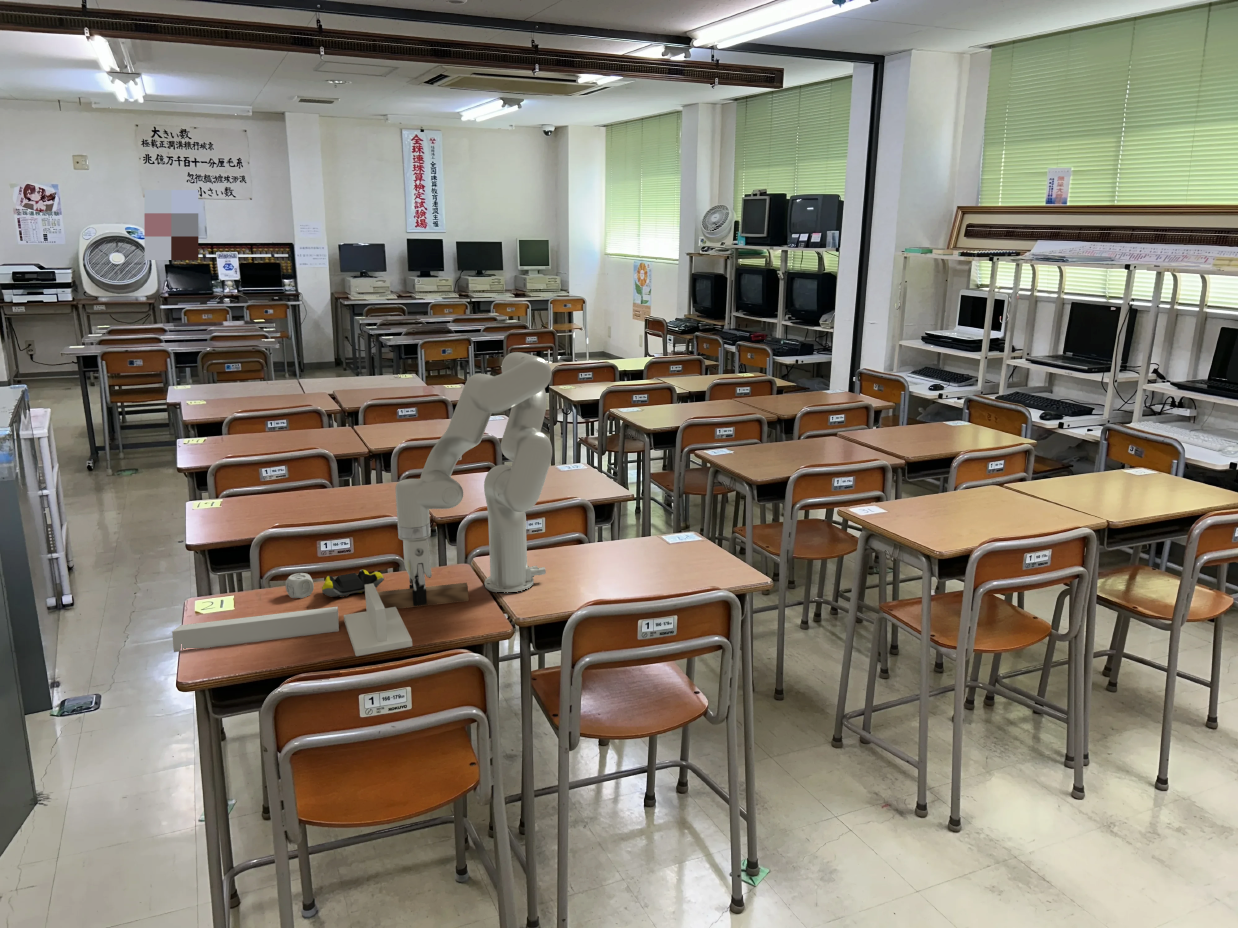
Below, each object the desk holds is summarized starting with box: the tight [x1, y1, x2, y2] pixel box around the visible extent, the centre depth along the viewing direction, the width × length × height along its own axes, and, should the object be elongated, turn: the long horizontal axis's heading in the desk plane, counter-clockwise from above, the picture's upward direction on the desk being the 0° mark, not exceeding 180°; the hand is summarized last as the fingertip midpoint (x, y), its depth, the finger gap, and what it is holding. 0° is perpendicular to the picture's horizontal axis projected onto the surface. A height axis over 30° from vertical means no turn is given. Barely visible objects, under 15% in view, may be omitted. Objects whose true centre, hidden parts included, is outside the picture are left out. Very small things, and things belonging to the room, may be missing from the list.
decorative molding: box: [171, 606, 340, 653], centre depth 200 cm, size 34×5×10 cm
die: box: [284, 572, 315, 599], centre depth 221 cm, size 5×5×5 cm
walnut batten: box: [377, 582, 469, 609], centre depth 216 cm, size 24×3×4 cm, turn 106°
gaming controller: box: [321, 569, 385, 598], centre depth 222 cm, size 15×6×10 cm
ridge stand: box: [343, 583, 413, 657], centre depth 199 cm, size 12×20×9 cm, turn 24°
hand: (418, 601), depth 216 cm, fingers closed on walnut batten, 3 cm apart
